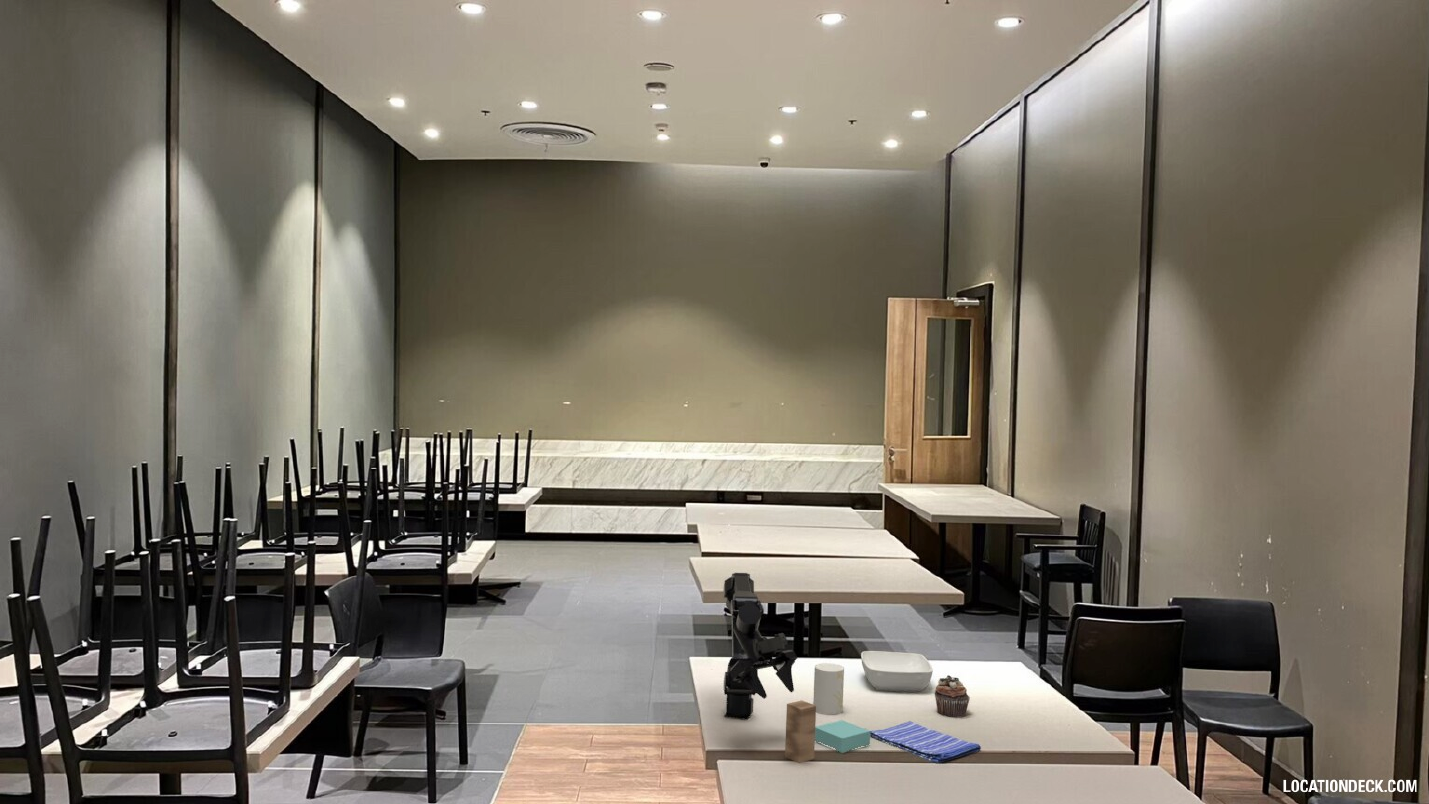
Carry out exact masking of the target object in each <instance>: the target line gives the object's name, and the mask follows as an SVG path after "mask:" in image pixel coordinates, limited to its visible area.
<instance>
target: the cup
mask: <svg viewBox="0 0 1429 804" xmlns="http://www.w3.org/2000/svg"><path fill="white" fill-rule="evenodd" d="M813 675H814V679H813V701H812V703H813V705H816V714H817V713H818V714H821V715H827V716H828V715H830V716H833V715H834V716H835V715H840V714H841V713H843V711H844V710H843V707H844V682H845V678H844V677H845V666H842V665H840V664H836V663H830V662H829V663H827V662H826V663H825V662H823V663H817V664H815V665H814V674H813Z"/></svg>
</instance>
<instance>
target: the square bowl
mask: <svg viewBox="0 0 1429 804" xmlns="http://www.w3.org/2000/svg"><path fill="white" fill-rule="evenodd" d="M860 656H861V657H860V659H861V660H860V661H861V666H862V668H863V671H864V674H865V677H866V679H867V681H868V682H869V683H870V684H871V685H872V686H873V687H874V688H875V690H878V691H887V692H888V691H891V692H911V693H913V692H915V693H919V692H920V691H922V690H923V689H925V688H926V687H928V685H929V684H930V682H931V679H932V677H933V670H934V669H933V666H932V665H931V663H930V662H929V661H930V660H928V659H927V657H925V656H924V655H923V654H921V653H914V652H901V651H900V652H898V651H897V652H896V651H895V652H894V651H882V650H881V651H880V650H864V651H862V652H861V653H860Z"/></svg>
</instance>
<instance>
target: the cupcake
mask: <svg viewBox="0 0 1429 804" xmlns="http://www.w3.org/2000/svg"><path fill="white" fill-rule="evenodd" d="M937 681H938V682H937V685H936V686H935V690H934V700H935V702H936V703H935V704H936V705H935V706H936V711H937V713H938V714H939V715H941V716H943V717H947V718H963V717H966V715H967V710H968V707H969V703H970V699H971V697H970V696H969V695H968V694H967V690H968V689H967V688H966V687H965V686H964V684H963V682H962V681H960V679H959V677H952V676H951V675H947V676H946V677H945V678H944V677H942V678H939V679H938V680H937Z"/></svg>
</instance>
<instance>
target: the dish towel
mask: <svg viewBox="0 0 1429 804" xmlns="http://www.w3.org/2000/svg"><path fill="white" fill-rule="evenodd" d="M869 731H870V736H872V738H873V739H875V738H876V739H875V740H877V739H878V741H880V742H882V743H885V742H887V743H889V744H888V745H890V744H891V745H890V746H892V745H894V746H893V747H895V746H896V747H895V748H897V747H898V749H900V750H902V751H904V752H907V753H910V754H913V755H915V756H917V757H920V758H922V759H924V760H928V761H930V762H933V763H935V764H942V763H945V762H948V761H951V760H954V759H957V758H960V757H964V756H966V755H970V754H972V753H976V752H979V751H980V750H981V749H982V746H981V745H980V744H979V743H974V742H969V741H966V740H964V739H959V738H957V737H954V736H952V735H949V734H946V733H943V732H939V731H937V730H935V729H932V728H928V727H925V726H922V725H920V724H919V723H917V722H913V721H910V720H909V721H907V722H904V723H900V724H897V725H894V726H890V727H888V728H884V729H877V730H869ZM887 743H886V744H887Z"/></svg>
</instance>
